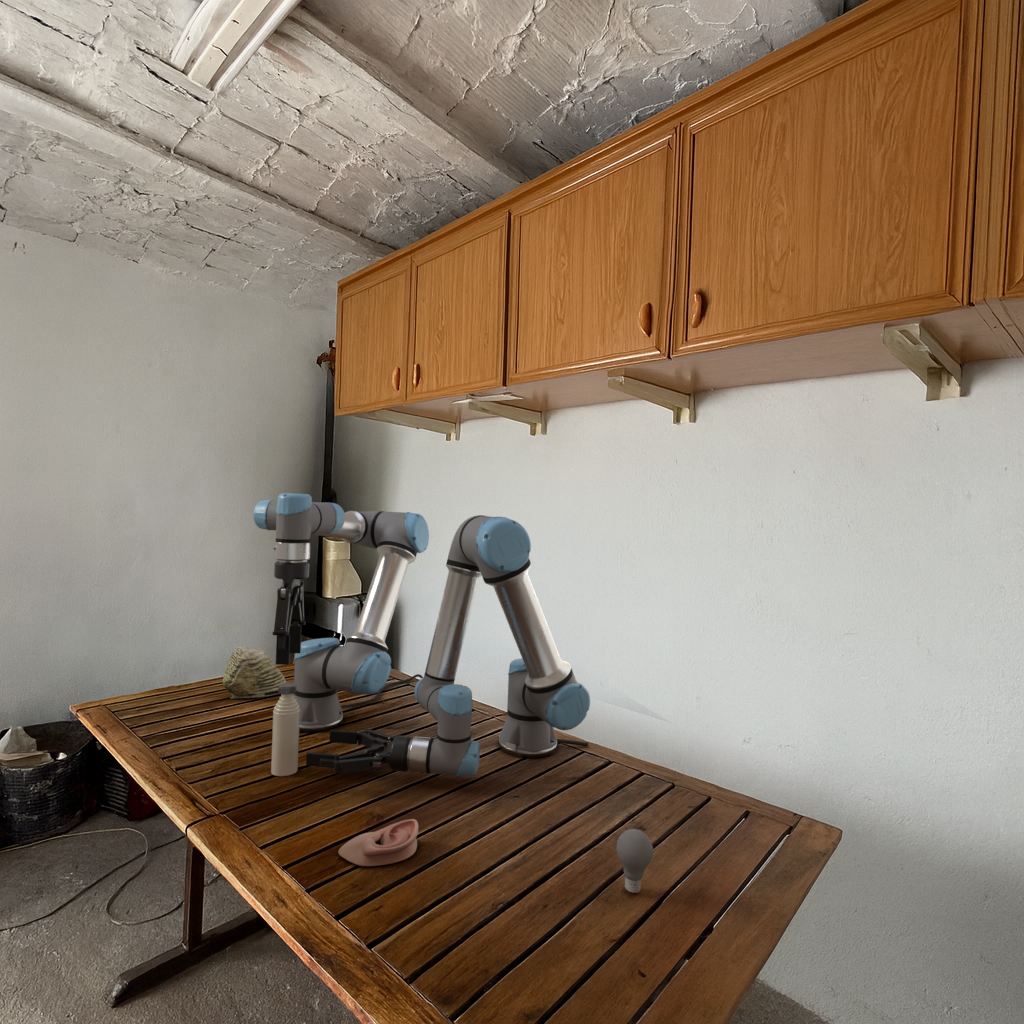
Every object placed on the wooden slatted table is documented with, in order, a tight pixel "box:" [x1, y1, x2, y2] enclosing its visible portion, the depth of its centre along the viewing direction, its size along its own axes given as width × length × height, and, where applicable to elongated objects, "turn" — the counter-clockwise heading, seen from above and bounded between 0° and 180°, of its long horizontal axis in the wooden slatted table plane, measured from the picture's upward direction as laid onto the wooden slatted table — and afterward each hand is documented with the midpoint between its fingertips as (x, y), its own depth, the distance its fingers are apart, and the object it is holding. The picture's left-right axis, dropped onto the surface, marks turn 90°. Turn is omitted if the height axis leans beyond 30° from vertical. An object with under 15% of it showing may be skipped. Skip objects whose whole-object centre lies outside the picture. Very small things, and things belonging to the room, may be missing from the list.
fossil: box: [222, 646, 287, 699], centre depth 198 cm, size 9×18×15 cm, turn 132°
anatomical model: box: [337, 818, 419, 867], centre depth 114 cm, size 13×4×12 cm
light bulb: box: [615, 828, 654, 894], centre depth 106 cm, size 6×6×10 cm
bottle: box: [270, 693, 300, 777], centre depth 145 cm, size 6×6×20 cm
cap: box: [278, 681, 297, 695], centre depth 145 cm, size 4×4×2 cm
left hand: (288, 658), depth 145 cm, fingers open, 9 cm apart
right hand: (318, 746), depth 144 cm, fingers open, 13 cm apart
